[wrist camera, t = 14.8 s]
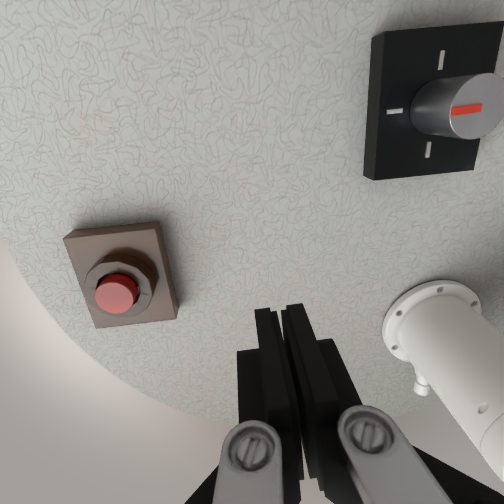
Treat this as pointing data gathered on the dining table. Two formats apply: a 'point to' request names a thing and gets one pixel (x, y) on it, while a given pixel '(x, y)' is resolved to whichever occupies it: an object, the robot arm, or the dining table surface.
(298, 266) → the dining table surface
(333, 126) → the dining table surface
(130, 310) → the button block
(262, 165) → the dining table surface
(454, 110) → the tap knob
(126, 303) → the button
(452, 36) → the plate
